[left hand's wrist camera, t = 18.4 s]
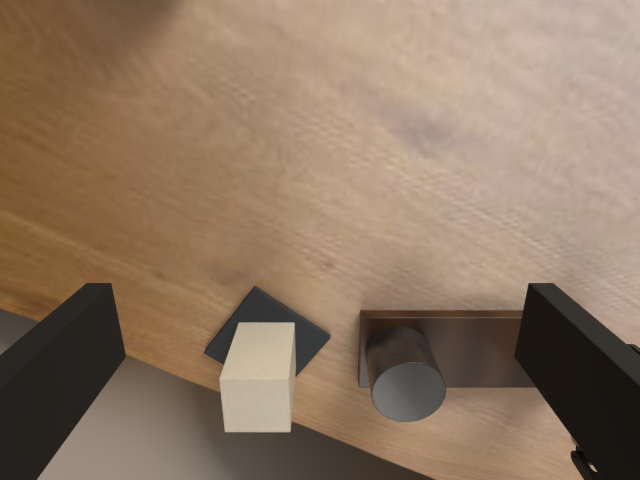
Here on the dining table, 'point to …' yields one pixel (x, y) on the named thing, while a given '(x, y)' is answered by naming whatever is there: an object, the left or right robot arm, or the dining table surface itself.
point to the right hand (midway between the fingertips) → (570, 371)
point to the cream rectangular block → (259, 378)
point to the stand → (435, 357)
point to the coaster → (269, 310)
